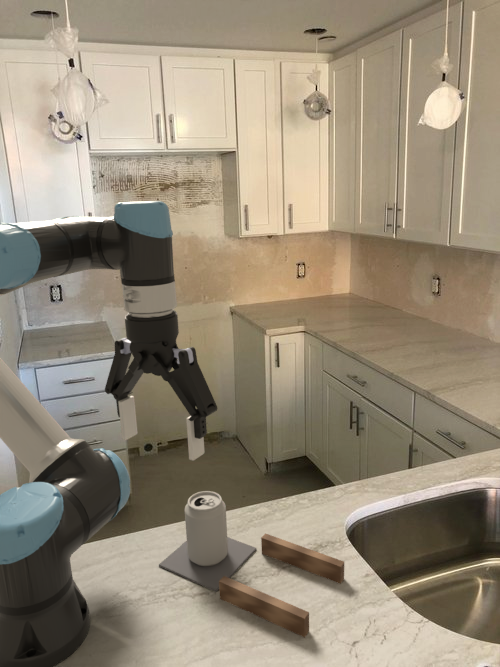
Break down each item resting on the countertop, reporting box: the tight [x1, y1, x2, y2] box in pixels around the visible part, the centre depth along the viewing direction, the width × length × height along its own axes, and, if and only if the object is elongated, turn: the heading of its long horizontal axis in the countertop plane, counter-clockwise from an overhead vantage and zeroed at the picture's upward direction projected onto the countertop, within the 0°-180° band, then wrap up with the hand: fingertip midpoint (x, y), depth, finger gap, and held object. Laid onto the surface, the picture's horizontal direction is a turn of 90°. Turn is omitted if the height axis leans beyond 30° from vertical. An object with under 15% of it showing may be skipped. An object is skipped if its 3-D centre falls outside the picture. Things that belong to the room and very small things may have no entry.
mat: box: [158, 536, 257, 593], centre depth 102 cm, size 13×13×1 cm
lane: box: [218, 533, 345, 638], centre depth 93 cm, size 16×15×4 cm
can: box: [184, 490, 228, 566], centre depth 100 cm, size 8×8×12 cm
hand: (162, 446), depth 84 cm, fingers open, 13 cm apart
